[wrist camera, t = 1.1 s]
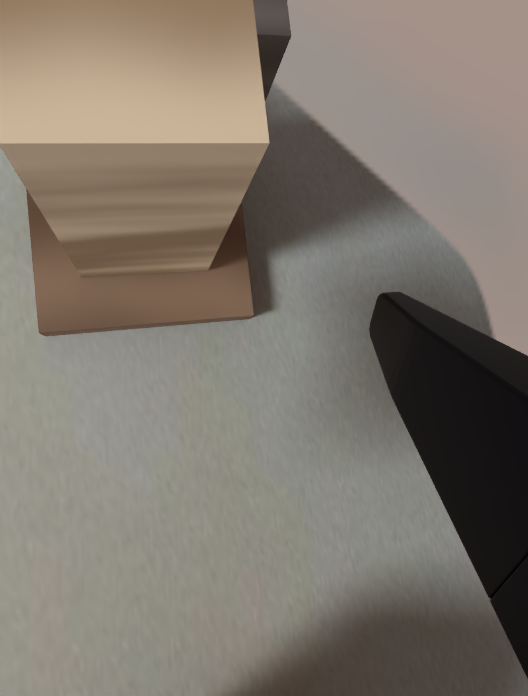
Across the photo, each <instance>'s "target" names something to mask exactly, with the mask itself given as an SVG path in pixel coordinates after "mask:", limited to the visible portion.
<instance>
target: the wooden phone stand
mask: <svg viewBox="0 0 528 696" xmlns="http://www.w3.org/2000/svg"><path fill="white" fill-rule="evenodd" d="M253 5H254V14H255V22H256V31H257V39H258V48H259V57H260V65H261V74H262V82H263V91H264V100H266V98H267V95H268V93H269V90H270V88H271V85H272V83H273V80H274V78H275V75H276V73H277V70H278V68H279V65H280V63H281V60H282V58H283V55H284V53H285V50H286V48H287V45H288V43H289V40H290V38H291V31H290V22H289V15H288V6H287V0H253ZM26 191H27V202H28V214H29V225H30V237H31V248H32V260H33V271H34V282H35V294H36V305H37V317H38V328H39V333H40V334H42V335H44V336H54V335H66V334H78V333H89V332H101V331H113V330H125V329H136V328H148V327H160V326H172V325H184V324H195V323H207V322H219V321H231V320H242V319H249V318H251V317H252V316H253V315H254V312H253V303H252V294H251V285H250V277H249V268H248V259H247V250H246V241H245V232H244V223H243V214H242V205H241V203H240V205H239V207H238V209H237V211H236V214H235V216H234V218H233V220H232V222H231V224H230V226H229V228H228V230H227V232H226V234H225V236H224V238H223V240H222V242H221V244H220V247H219V249H218V251H217V253H216V255H215V257H214V259H213V261H212V263H211V265H210V267H209V269H208V270H204V271H188V272H171V273H154V274H138V275H121V276H105V277H88V278H82V277H81V276H80V274H79V272H78V271H77V269H76V268H75V266H74V264H73V263H72V261H71V260H70V258H69V256H68V255H67V253H66V252H65V250H64V248H63V247H62V245H61V243H60V242H59V240H58V239H57V237H56V235H55V234H54V232H53V231H52V229H51V227H50V226H49V224H48V223H47V221H46V219H45V218H44V216H43V214H42V213H41V211H40V210H39V208H38V206H37V205H36V203H35V202H34V200H33V198H32V197H31V195H30V194H29V192H28V190H27V189H26Z"/></svg>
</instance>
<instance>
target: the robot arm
mask: <svg viewBox="0 0 528 696" xmlns="http://www.w3.org/2000/svg"><path fill="white" fill-rule="evenodd" d="M369 330H370V337H371V340H372V343H373V346H374V349H375V351H376V354H377V357H378V360H379V363H380V366H381V369H382V372H383V374H384V377H385V380H386V383H387V386H388V389H389V391H390V394H391V396H392V398H393V401H394V403H395V405H396V407H397V409H398V411H399V413H400V415H401V417H402V419H403V421H404V424H405V426H406V428H407V430H408V432H409V434H410V436H411V438H412V440H413V442H414V444H415V446H416V448H417V450H418V452H419V455H420V457H421V459H422V461H423V463H424V465H425V467H426V469H427V471H428V473H429V475H430V477H431V479H432V481H433V483H434V486H435V488H436V490H437V492H438V494H439V496H440V498H441V500H442V502H443V504H444V506H445V508H446V510H447V512H448V514H449V517H450V519H451V521H452V523H453V525H454V527H455V529H456V531H457V533H458V535H459V537H460V539H461V541H462V543H463V545H464V547H465V550H466V552H467V554H468V556H469V558H470V560H471V562H472V564H473V566H474V568H475V570H476V572H477V574H478V576H479V578H480V581H481V583H482V585H483V587H484V589H485V591H486V593H487V595H488V597H489V598H491V599H490V602H491V604H492V606H493V608H494V610H495V612H496V614H497V616H498V618H499V620H500V623H501V625H502V627H503V629H504V631H505V633H506V635H507V637H508V639H509V641H510V643H511V645H512V647H513V649H514V651H515V653H516V655H517V658H518V660H519V662H520V664H521V666H522V668H523V670H524V672H525V674H526V676H527V678H528V356H527V355H525V354H523V353H521V352H519V351H517V350H515V349H513V348H511V347H509V346H507V345H505V344H503V343H501V342H499V341H497V340H495V339H493V338H491V337H489V336H487V335H485V334H483V333H481V332H479V331H477V330H475V329H473V328H471V327H469V326H467V325H465V324H463V323H461V322H459V321H457V320H455V319H453V318H451V317H449V316H447V315H445V314H443V313H441V312H439V311H437V310H435V309H433V308H431V307H429V306H427V305H425V304H423V303H421V302H419V301H417V300H415V299H413V298H411V297H409V296H407V295H405V294H403V293H401V292H388V293H382V294H380V295H379V296H378V298H377V301H376V304H375V308H374V312H373V315H372V319H371V322H370V329H369Z"/></svg>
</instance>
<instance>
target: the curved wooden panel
mask: <svg viewBox="0 0 528 696" xmlns="http://www.w3.org/2000/svg"><path fill="white" fill-rule="evenodd" d="M268 145H269V134H268V125H267V117H266V108H265V100H264V91H263V82H262V74H261V65H260V57H259V48H258V39H257V31H256V22H255V14H254V5H253V0H0V147H1V148H2V150H3V152H4V153H5V155H6V156H7V158H8V160H9V161H10V163H11V165H12V166H13V168H14V169H15V171H16V173H17V174H18V176H19V177H20V179H21V181H22V182H23V184H24V185H25V187H26V189H27V190H28V192H29V194H30V195H31V197H32V198H33V200H34V202H35V203H36V205H37V206H38V208H39V210H40V211H41V213H42V214H43V216H44V218H45V219H46V221H47V223H48V224H49V226H50V227H51V229H52V231H53V232H54V234H55V235H56V237H57V239H58V240H59V242H60V243H61V245H62V247H63V248H64V250H65V252H66V253H67V255H68V256H69V258H70V260H71V261H72V263H73V264H74V266H75V268H76V269H77V271H78V272H79V274H80V276H81V277H82V278H88V277H105V276H121V275H138V274H154V273H171V272H188V271H204V270H208V269H209V267H210V265H211V263H212V261H213V259H214V257H215V255H216V253H217V251H218V249H219V247H220V244H221V242H222V240H223V238H224V236H225V234H226V232H227V230H228V228H229V226H230V224H231V222H232V220H233V218H234V216H235V214H236V211H237V209H238V207H239V205H240V203H241V201H242V199H243V197H244V195H245V193H246V191H247V189H248V187H249V185H250V183H251V180H252V178H253V176H254V174H255V172H256V170H257V168H258V166H259V164H260V162H261V160H262V158H263V156H264V154H265V152H266V149H267V147H268Z"/></svg>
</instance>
